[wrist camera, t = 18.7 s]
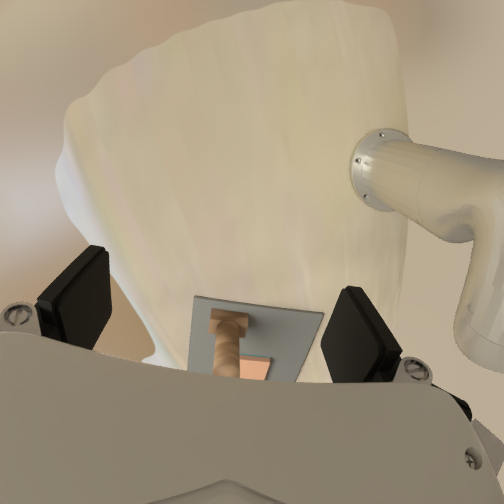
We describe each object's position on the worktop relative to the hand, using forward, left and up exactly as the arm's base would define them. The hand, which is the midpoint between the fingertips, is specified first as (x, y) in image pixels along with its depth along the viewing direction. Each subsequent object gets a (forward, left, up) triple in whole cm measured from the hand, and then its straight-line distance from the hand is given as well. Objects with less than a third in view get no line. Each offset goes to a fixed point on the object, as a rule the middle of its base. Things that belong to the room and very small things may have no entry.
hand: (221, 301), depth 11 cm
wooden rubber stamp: (-3, +23, -30) cm, 38 cm away
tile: (-8, +36, -29) cm, 47 cm away
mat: (-8, +32, -30) cm, 45 cm away
